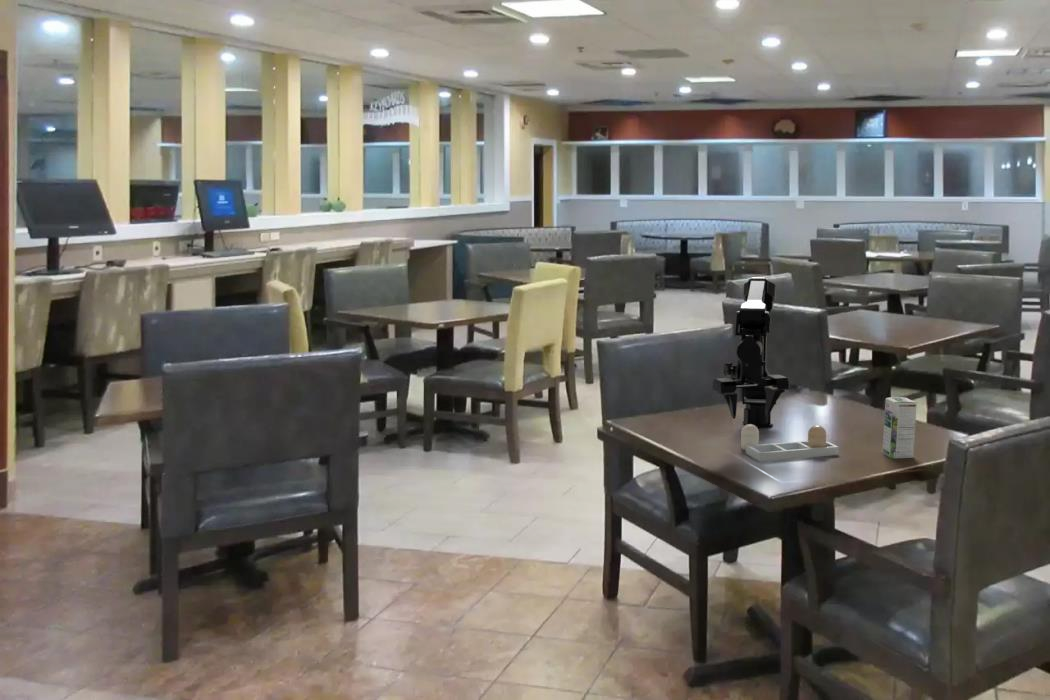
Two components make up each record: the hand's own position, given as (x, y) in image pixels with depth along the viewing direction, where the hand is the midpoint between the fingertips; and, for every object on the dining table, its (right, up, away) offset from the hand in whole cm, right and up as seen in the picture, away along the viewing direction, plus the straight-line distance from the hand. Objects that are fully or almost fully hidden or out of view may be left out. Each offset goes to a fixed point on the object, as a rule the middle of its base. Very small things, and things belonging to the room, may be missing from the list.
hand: (750, 417), depth 263 cm
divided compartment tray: (+9, -9, -5) cm, 14 cm away
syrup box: (+35, -10, -7) cm, 37 cm away
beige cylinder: (+16, -9, -3) cm, 18 cm away
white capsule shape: (0, -9, +1) cm, 9 cm away
